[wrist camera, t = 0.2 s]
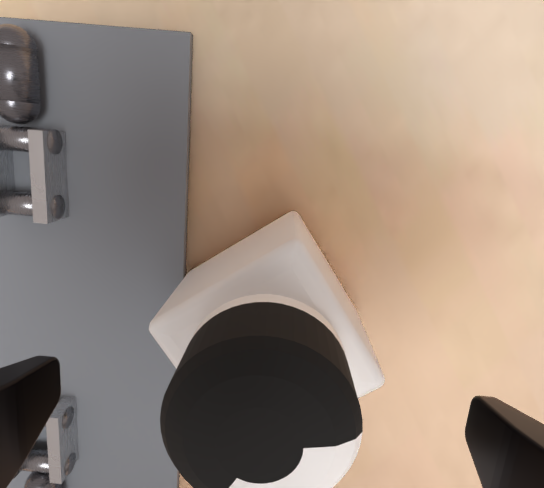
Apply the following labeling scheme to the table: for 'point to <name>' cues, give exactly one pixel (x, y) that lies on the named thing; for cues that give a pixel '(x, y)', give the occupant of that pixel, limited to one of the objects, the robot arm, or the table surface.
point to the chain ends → (35, 216)
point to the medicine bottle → (264, 366)
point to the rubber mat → (104, 241)
